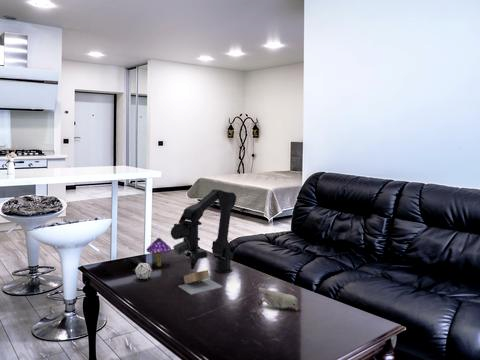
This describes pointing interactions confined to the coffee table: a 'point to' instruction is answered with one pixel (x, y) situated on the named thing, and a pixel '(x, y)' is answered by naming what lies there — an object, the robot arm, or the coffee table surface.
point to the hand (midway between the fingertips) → (191, 269)
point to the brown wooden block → (196, 277)
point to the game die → (143, 270)
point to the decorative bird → (278, 299)
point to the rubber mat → (200, 286)
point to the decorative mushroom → (158, 249)
